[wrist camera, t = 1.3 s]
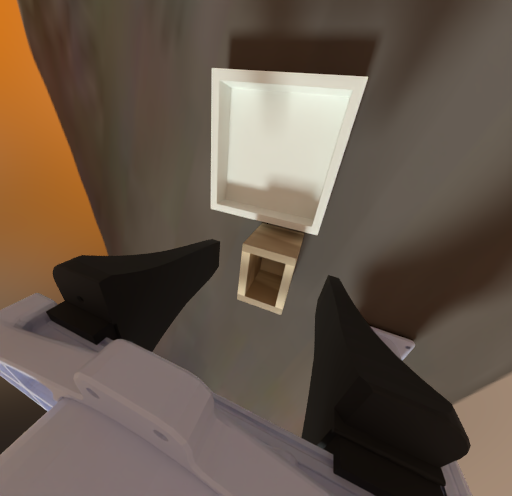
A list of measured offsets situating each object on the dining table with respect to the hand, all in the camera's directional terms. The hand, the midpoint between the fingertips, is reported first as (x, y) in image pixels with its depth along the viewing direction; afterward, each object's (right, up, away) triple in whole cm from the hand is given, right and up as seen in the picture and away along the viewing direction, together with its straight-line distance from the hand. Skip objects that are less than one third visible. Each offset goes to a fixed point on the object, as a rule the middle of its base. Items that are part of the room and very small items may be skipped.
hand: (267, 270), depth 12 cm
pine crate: (+2, +1, +11) cm, 11 cm away
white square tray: (+1, +10, +6) cm, 12 cm away
